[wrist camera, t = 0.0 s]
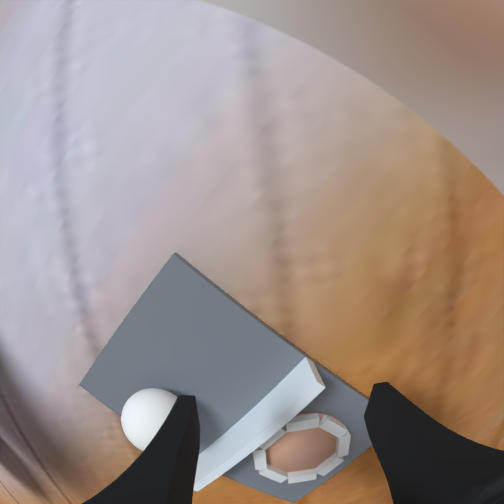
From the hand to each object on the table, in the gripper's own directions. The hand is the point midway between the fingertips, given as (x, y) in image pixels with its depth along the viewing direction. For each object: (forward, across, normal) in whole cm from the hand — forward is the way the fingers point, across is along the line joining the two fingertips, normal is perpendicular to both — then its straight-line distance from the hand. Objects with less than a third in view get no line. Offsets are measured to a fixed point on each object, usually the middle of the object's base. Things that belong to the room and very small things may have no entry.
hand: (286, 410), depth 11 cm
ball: (+6, +8, +8) cm, 13 cm away
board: (+9, +1, +10) cm, 14 cm away
